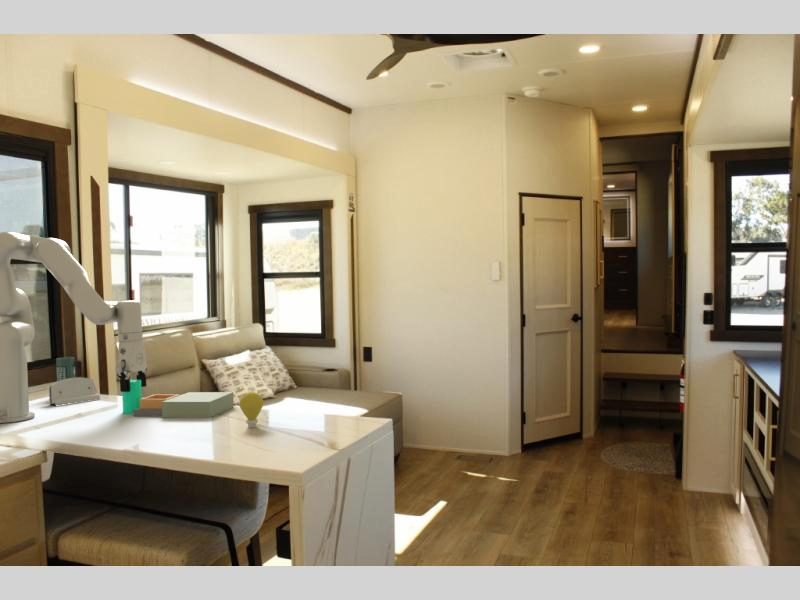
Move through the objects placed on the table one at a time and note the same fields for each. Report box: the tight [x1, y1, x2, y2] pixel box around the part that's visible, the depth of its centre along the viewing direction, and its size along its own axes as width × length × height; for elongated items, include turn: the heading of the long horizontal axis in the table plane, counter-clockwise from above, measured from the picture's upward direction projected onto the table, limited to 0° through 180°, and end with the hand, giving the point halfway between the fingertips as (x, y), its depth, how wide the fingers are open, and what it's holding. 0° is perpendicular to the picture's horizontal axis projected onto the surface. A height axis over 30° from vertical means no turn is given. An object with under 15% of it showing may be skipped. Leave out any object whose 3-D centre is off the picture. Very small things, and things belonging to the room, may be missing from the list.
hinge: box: [48, 377, 101, 406], centre depth 241 cm, size 17×5×10 cm, turn 141°
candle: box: [121, 375, 143, 415], centre depth 218 cm, size 6×6×12 cm
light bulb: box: [239, 391, 264, 429], centre depth 190 cm, size 7×7×10 cm
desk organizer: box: [132, 391, 234, 419], centre depth 216 cm, size 18×27×5 cm, turn 81°
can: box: [55, 356, 76, 382], centre depth 254 cm, size 6×6×15 cm
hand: (133, 389), depth 218 cm, fingers open, 9 cm apart
